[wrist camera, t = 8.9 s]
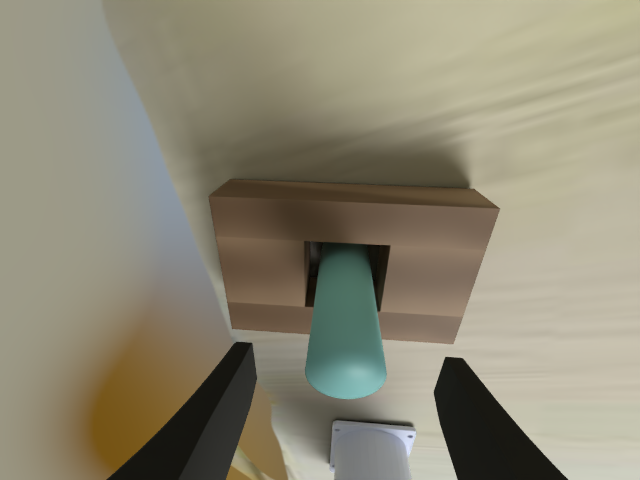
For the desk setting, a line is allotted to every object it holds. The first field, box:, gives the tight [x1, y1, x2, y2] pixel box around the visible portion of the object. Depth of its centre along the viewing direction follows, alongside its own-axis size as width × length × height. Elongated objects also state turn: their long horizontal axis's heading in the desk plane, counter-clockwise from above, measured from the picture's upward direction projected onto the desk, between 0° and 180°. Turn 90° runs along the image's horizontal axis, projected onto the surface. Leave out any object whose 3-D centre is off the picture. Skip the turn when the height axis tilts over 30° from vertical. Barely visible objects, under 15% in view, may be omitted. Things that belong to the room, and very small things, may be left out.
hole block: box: [209, 179, 500, 344], centre depth 17 cm, size 9×14×3 cm, turn 89°
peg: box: [305, 242, 387, 399], centre depth 14 cm, size 3×3×9 cm
